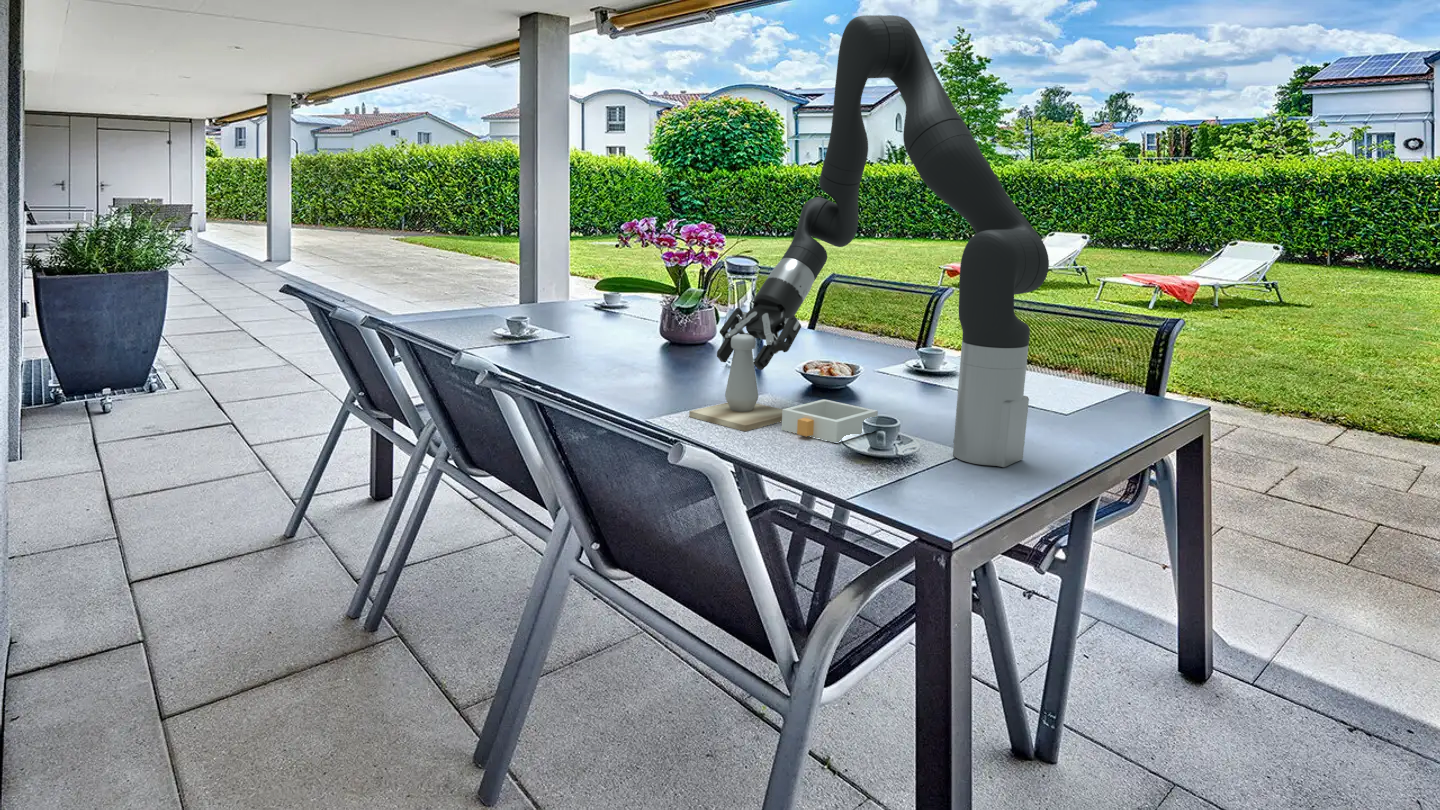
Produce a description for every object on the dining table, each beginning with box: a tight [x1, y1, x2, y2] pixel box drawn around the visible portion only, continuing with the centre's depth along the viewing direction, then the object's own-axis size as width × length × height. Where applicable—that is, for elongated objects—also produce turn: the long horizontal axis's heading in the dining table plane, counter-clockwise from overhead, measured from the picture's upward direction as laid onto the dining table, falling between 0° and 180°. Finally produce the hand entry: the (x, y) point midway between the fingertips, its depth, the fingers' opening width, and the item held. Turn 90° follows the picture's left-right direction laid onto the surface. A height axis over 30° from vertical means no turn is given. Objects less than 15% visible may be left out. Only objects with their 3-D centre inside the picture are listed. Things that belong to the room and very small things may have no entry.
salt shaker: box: [724, 334, 759, 412], centre depth 153 cm, size 6×6×13 cm
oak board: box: [688, 402, 783, 432], centre depth 153 cm, size 13×13×1 cm
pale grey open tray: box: [781, 398, 879, 442], centre depth 145 cm, size 11×13×4 cm
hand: (738, 363), depth 150 cm, fingers open, 8 cm apart
